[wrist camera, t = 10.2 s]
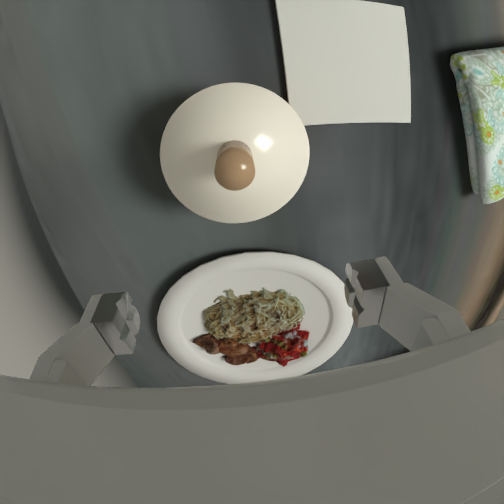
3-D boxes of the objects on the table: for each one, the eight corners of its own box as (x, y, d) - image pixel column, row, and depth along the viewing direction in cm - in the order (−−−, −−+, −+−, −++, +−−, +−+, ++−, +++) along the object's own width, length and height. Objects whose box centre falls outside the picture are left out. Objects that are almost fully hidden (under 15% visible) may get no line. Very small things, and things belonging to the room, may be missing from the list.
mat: (400, 7, 21) (403, 7, 20) (407, 121, 29) (410, 122, 28) (274, -1, 21) (275, -3, 21) (290, 125, 29) (291, 126, 28)
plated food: (173, 220, 35) (168, 235, 32) (384, 270, 41) (393, 284, 38) (153, 362, 50) (150, 377, 48) (303, 382, 57) (306, 396, 54)
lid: (301, 75, 22) (315, 76, 18) (310, 209, 29) (323, 235, 25) (148, 99, 22) (130, 105, 18) (179, 228, 29) (171, 256, 25)
